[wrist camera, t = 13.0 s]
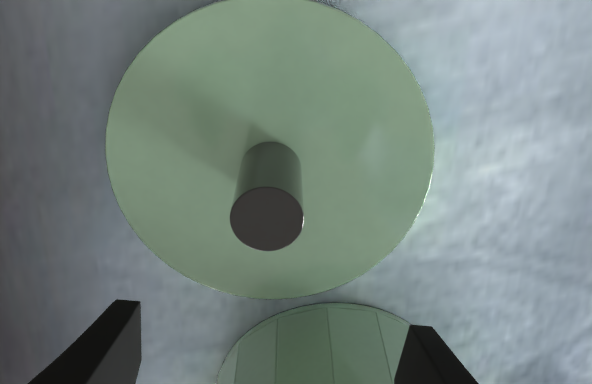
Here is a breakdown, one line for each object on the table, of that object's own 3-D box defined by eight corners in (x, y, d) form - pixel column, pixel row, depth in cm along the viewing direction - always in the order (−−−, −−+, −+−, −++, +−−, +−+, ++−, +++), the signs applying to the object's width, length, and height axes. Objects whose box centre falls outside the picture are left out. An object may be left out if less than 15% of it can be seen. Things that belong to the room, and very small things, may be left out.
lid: (465, 16, 18) (523, 42, 14) (391, 296, 24) (415, 380, 19) (106, -31, 17) (42, -21, 13) (118, 270, 23) (77, 352, 19)
